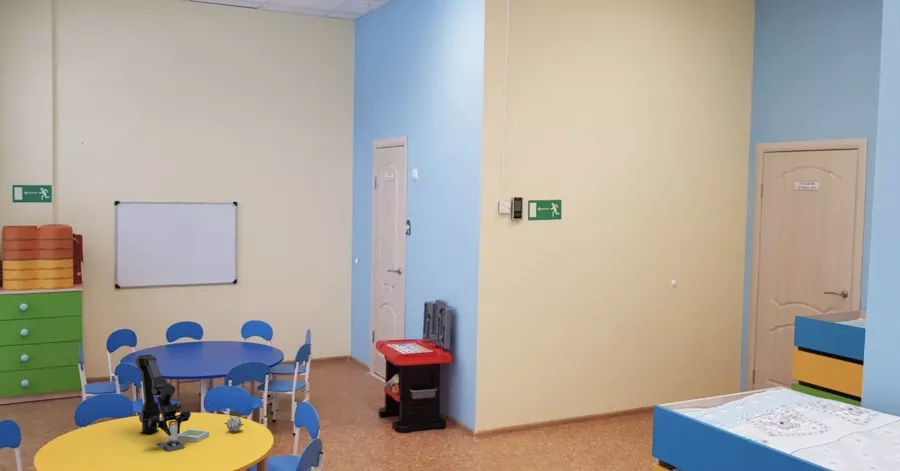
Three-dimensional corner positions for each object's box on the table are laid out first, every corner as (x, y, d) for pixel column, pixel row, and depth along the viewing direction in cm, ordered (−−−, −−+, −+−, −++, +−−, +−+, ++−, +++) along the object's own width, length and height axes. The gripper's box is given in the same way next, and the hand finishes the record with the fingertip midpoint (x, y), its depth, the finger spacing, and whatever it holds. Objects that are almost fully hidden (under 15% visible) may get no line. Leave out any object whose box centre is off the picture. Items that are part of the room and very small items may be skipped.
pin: (167, 447, 357) (166, 422, 357) (172, 445, 361) (172, 420, 361) (174, 448, 356) (174, 423, 356) (179, 446, 360) (179, 421, 359)
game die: (237, 437, 389) (249, 421, 391) (231, 437, 381) (244, 420, 383) (224, 427, 391) (236, 411, 393) (218, 426, 383) (230, 409, 385)
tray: (175, 442, 370) (175, 435, 370) (188, 435, 380) (188, 429, 379) (197, 444, 367) (197, 437, 367) (209, 438, 376) (209, 431, 376)
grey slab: (155, 445, 364) (155, 439, 364) (174, 442, 370) (174, 436, 370) (166, 454, 353) (166, 447, 353) (185, 450, 359) (185, 443, 359)
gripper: (149, 400, 354) (158, 429, 347) (189, 393, 366) (198, 421, 359) (144, 413, 361) (152, 441, 353) (183, 406, 373) (192, 434, 365)
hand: (174, 434), depth 357 cm, fingers closed on pin, 4 cm apart
